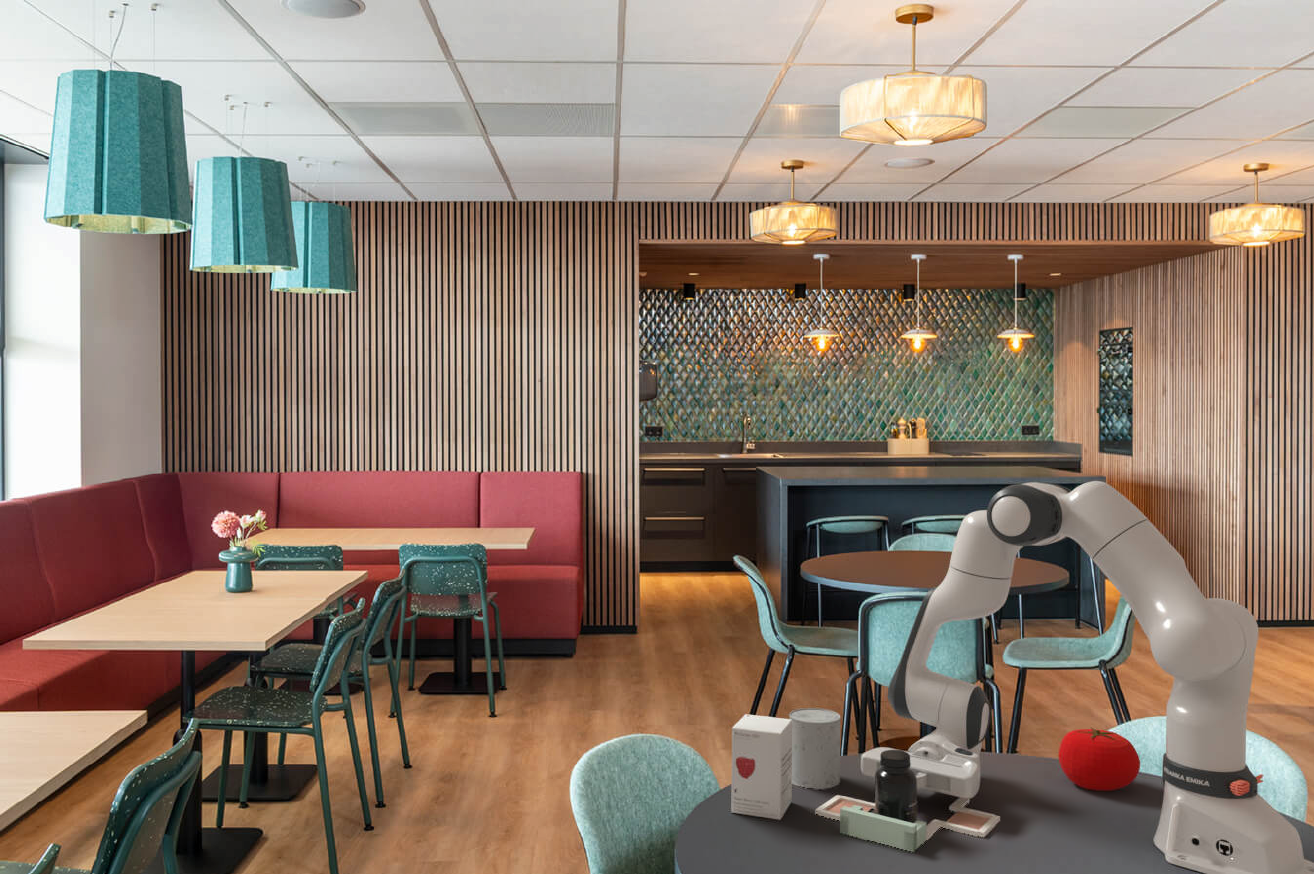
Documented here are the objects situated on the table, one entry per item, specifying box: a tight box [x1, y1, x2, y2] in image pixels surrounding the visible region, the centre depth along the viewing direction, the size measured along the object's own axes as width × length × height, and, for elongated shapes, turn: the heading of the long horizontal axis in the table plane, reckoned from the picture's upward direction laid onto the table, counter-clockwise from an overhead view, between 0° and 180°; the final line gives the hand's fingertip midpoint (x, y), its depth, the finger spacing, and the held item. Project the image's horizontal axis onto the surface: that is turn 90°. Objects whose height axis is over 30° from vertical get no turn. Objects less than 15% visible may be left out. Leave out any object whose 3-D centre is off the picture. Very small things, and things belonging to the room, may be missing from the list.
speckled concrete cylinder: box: [788, 707, 842, 790], centre depth 189 cm, size 10×10×12 cm
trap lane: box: [814, 794, 1001, 853], centre depth 171 cm, size 26×26×4 cm
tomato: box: [1058, 727, 1141, 792], centre depth 186 cm, size 14×13×10 cm
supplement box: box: [730, 713, 793, 821], centre depth 175 cm, size 9×9×15 cm
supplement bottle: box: [874, 749, 918, 823], centre depth 167 cm, size 7×7×12 cm
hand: (901, 784), depth 170 cm, fingers closed, pressing on supplement bottle
